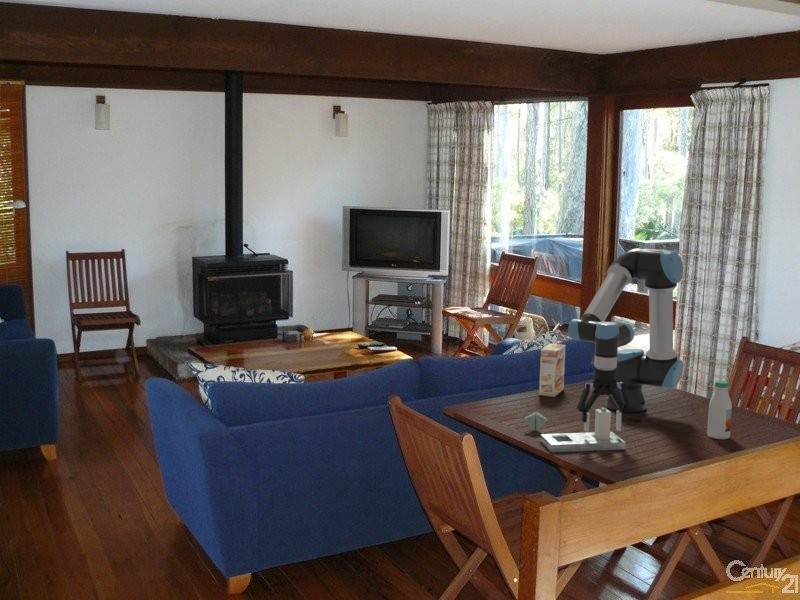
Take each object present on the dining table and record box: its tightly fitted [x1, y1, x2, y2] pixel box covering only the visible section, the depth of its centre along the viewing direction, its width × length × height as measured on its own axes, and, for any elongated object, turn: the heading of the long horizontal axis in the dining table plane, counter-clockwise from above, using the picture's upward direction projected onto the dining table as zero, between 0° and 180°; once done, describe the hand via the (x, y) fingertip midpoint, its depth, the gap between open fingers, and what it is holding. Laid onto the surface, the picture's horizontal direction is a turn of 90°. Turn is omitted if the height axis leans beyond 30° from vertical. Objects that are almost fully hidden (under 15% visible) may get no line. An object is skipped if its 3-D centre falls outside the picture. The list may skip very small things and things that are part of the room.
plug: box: [594, 407, 612, 440], centre depth 305 cm, size 4×4×13 cm
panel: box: [539, 431, 626, 453], centre depth 305 cm, size 26×12×3 cm, turn 99°
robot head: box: [524, 411, 548, 432], centre depth 321 cm, size 8×4×7 cm, turn 78°
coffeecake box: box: [538, 342, 567, 398], centre depth 374 cm, size 15×7×20 cm, turn 155°
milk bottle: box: [706, 380, 733, 440], centre depth 315 cm, size 8×8×20 cm
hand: (602, 430), depth 305 cm, fingers open, 11 cm apart
